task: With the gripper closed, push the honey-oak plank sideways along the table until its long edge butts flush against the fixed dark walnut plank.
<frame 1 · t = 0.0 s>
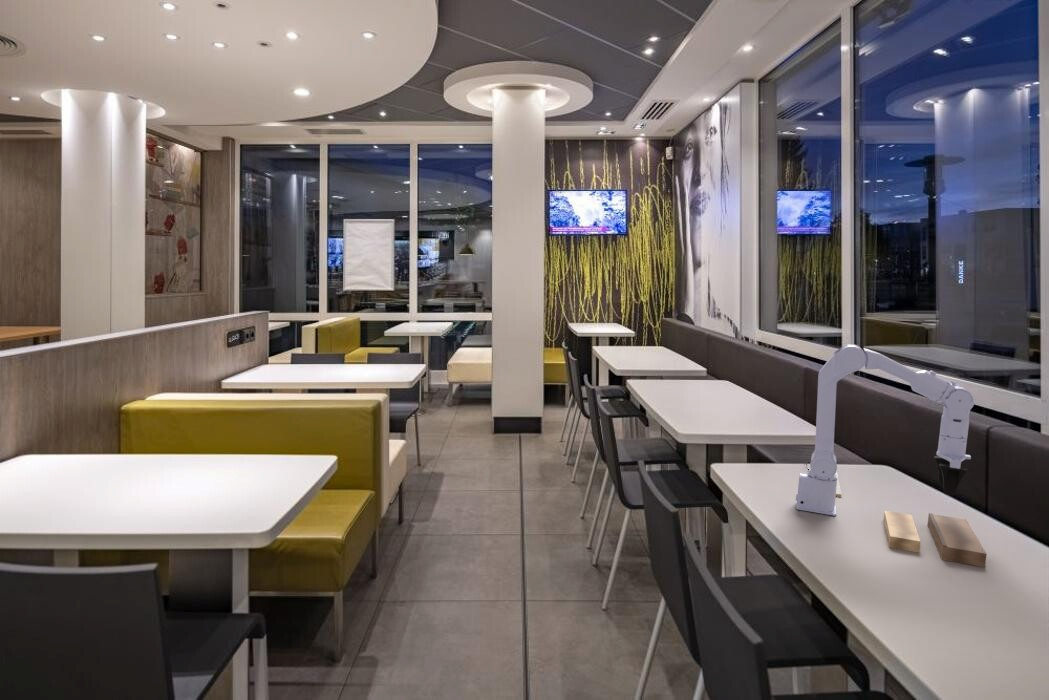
hand: (947, 490, 165), 10 cm above the table, tool pointing down, fingers open, 7 cm apart
baseboard: (820, 483, 205), on the table
oak plank: (900, 537, 162), on the table
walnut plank: (953, 544, 157), on the table
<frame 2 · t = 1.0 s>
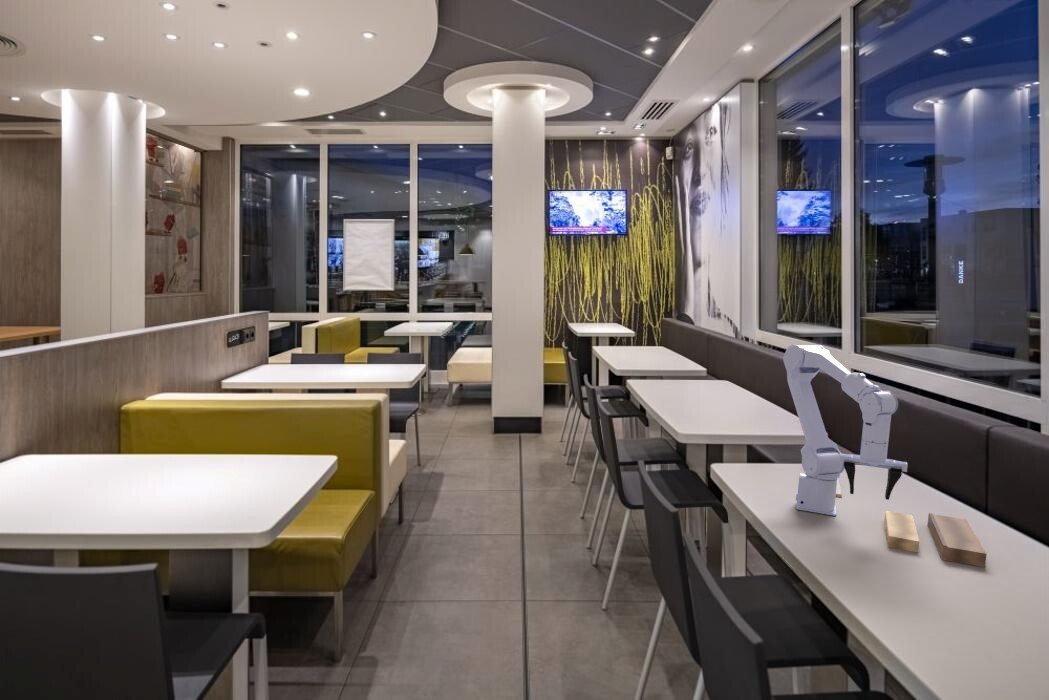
hand: (869, 495, 164), 8 cm above the table, tool pointing down, fingers open, 7 cm apart
nothing on the table moved.
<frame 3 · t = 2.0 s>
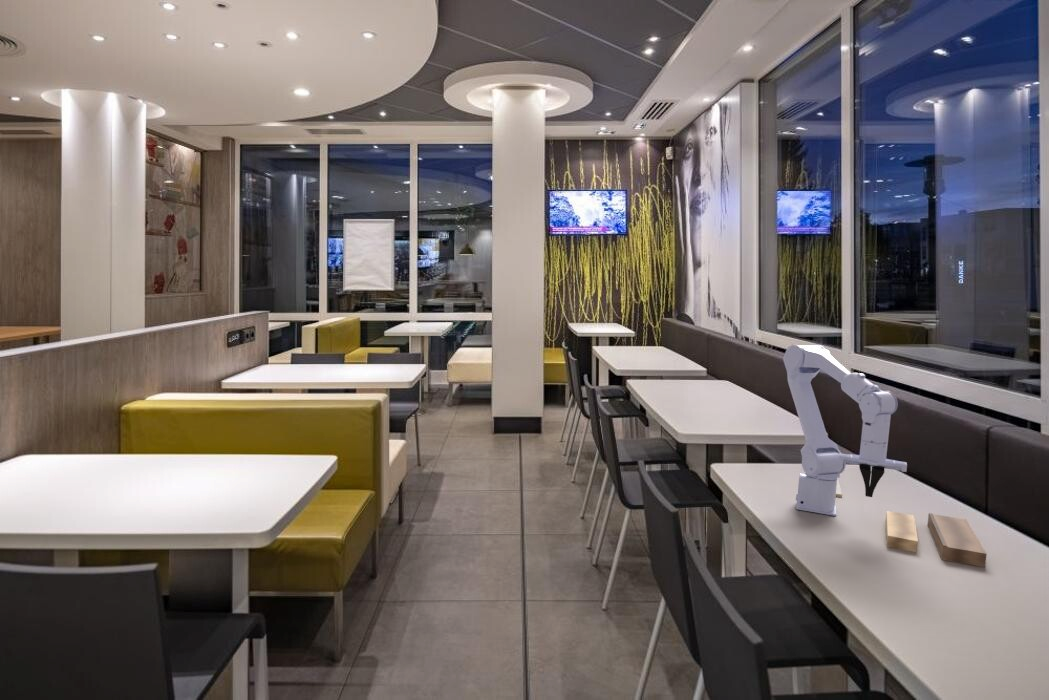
hand: (868, 495, 164), 8 cm above the table, tool pointing down, fingers closed
nothing on the table moved.
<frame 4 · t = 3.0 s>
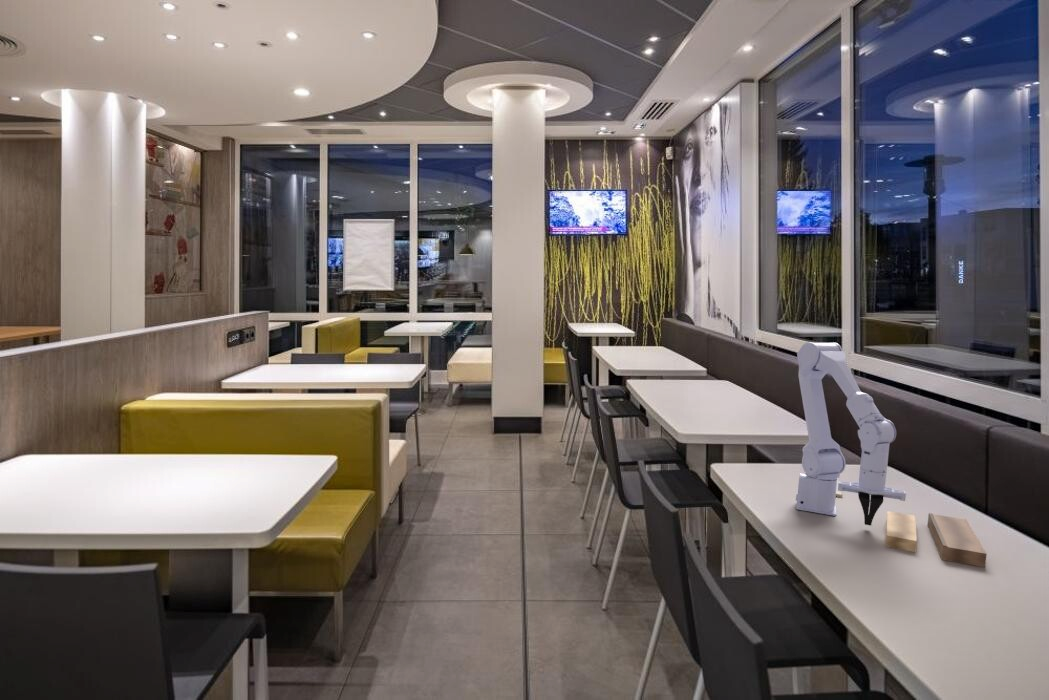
hand: (867, 523, 164), 1 cm above the table, tool pointing down, fingers closed
nothing on the table moved.
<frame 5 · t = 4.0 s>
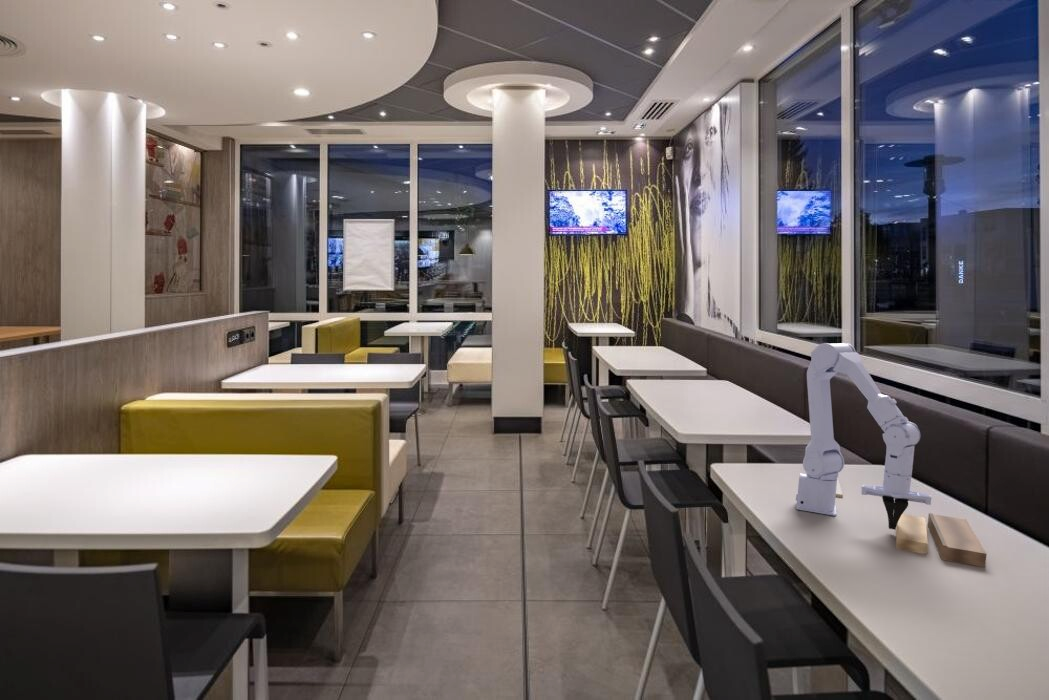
hand: (891, 527, 162), 1 cm above the table, tool pointing down, fingers closed
oak plank: (910, 539, 161), on the table
everything else where it was.
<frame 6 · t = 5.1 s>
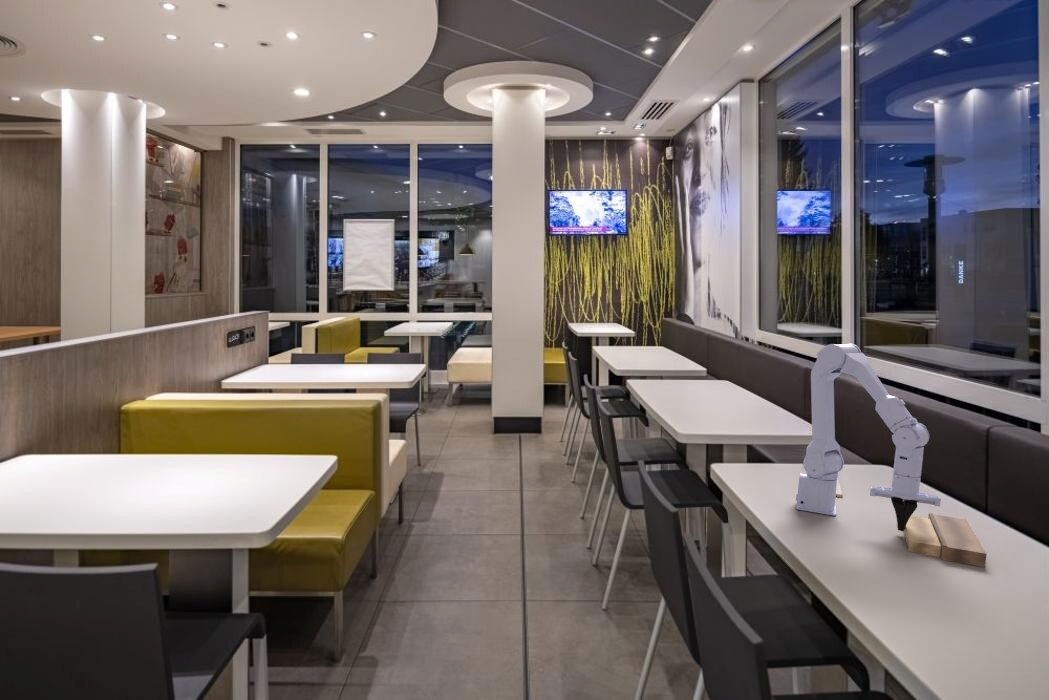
hand: (900, 529, 161), 1 cm above the table, tool pointing down, fingers closed
oak plank: (919, 541, 159), on the table, touching gripper
everything else where it was.
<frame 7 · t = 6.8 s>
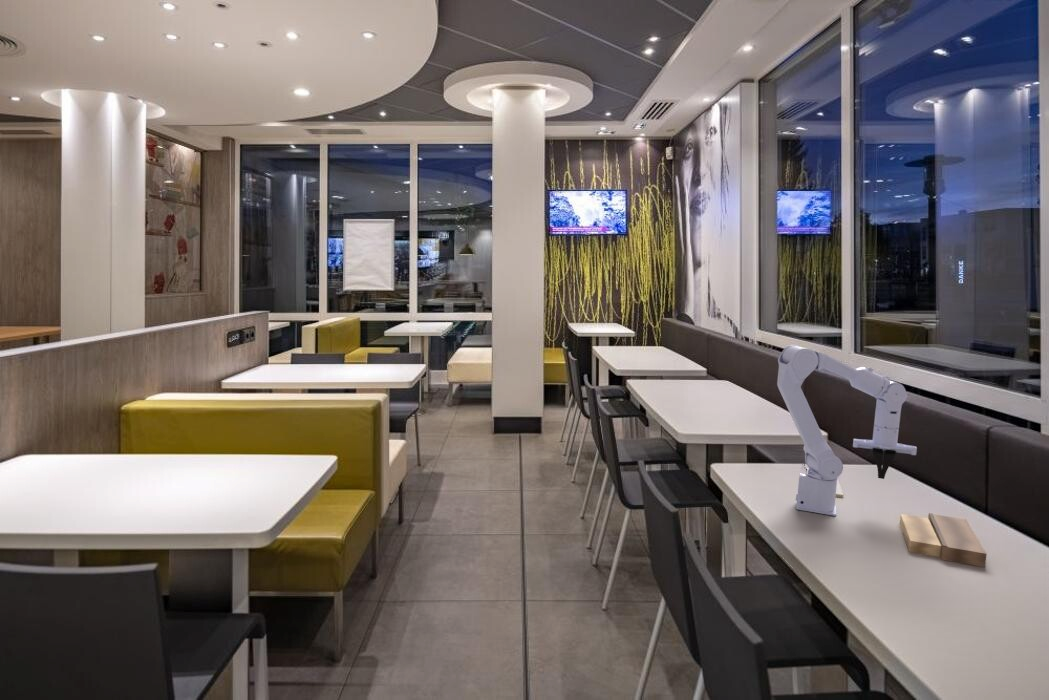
hand: (881, 477, 177), 9 cm above the table, tool pointing down, fingers closed
oak plank: (918, 541, 160), on the table
everything else where it was.
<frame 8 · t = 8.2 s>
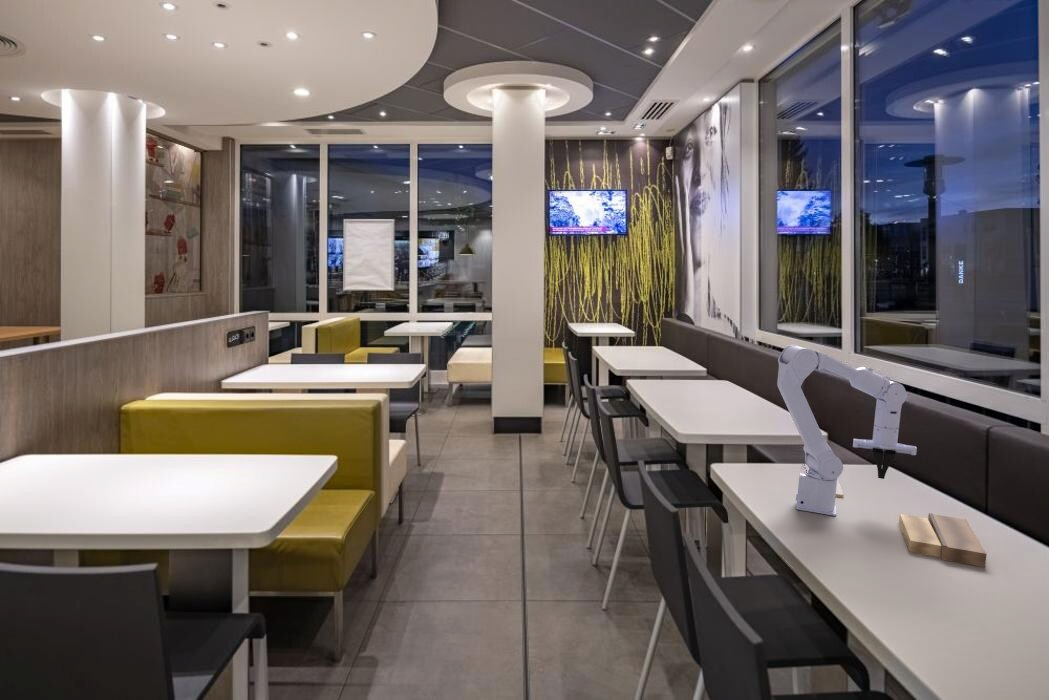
hand: (880, 477, 177), 9 cm above the table, tool pointing down, fingers closed
nothing on the table moved.
at the end: oak plank 0.5 cm from the target spot, on the table; oak plank moved 3.8 cm from its start; oak plank tilted 0° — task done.
